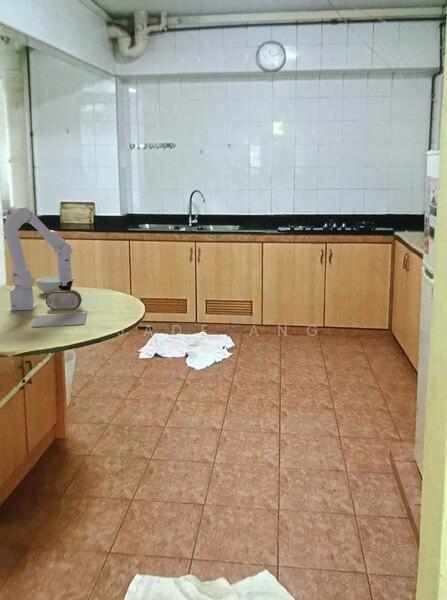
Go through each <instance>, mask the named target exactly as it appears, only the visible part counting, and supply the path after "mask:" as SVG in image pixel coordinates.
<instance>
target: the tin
mask: <svg viewBox="0 0 447 600" xmlns="http://www.w3.org/2000/svg"><path fill="white" fill-rule="evenodd" d="M82 301H83V300H82V296H81V294H80V293H79V292H78V291H77V290H73V289H71V290H54V291H51V292H50V293H49V294H47V295H46V297H45V304H46V305H47V307H48V308H49V309H51V310H53V311H64V310H65V311H67V310H68V311H71V310H72V311H73V310H76V309H78V308H79V307H80V306H81V304H82Z"/></svg>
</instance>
